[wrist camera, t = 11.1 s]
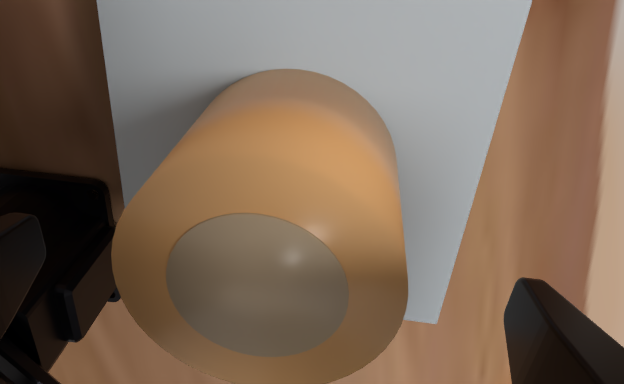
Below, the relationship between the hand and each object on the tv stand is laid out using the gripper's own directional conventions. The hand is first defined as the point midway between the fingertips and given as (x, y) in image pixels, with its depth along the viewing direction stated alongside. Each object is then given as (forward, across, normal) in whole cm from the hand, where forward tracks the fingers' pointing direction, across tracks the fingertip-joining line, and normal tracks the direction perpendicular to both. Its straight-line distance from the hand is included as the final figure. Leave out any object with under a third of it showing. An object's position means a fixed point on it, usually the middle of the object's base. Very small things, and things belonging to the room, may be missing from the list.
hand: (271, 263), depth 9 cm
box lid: (+4, 0, 0) cm, 4 cm away
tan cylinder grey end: (+4, 0, 0) cm, 4 cm away
